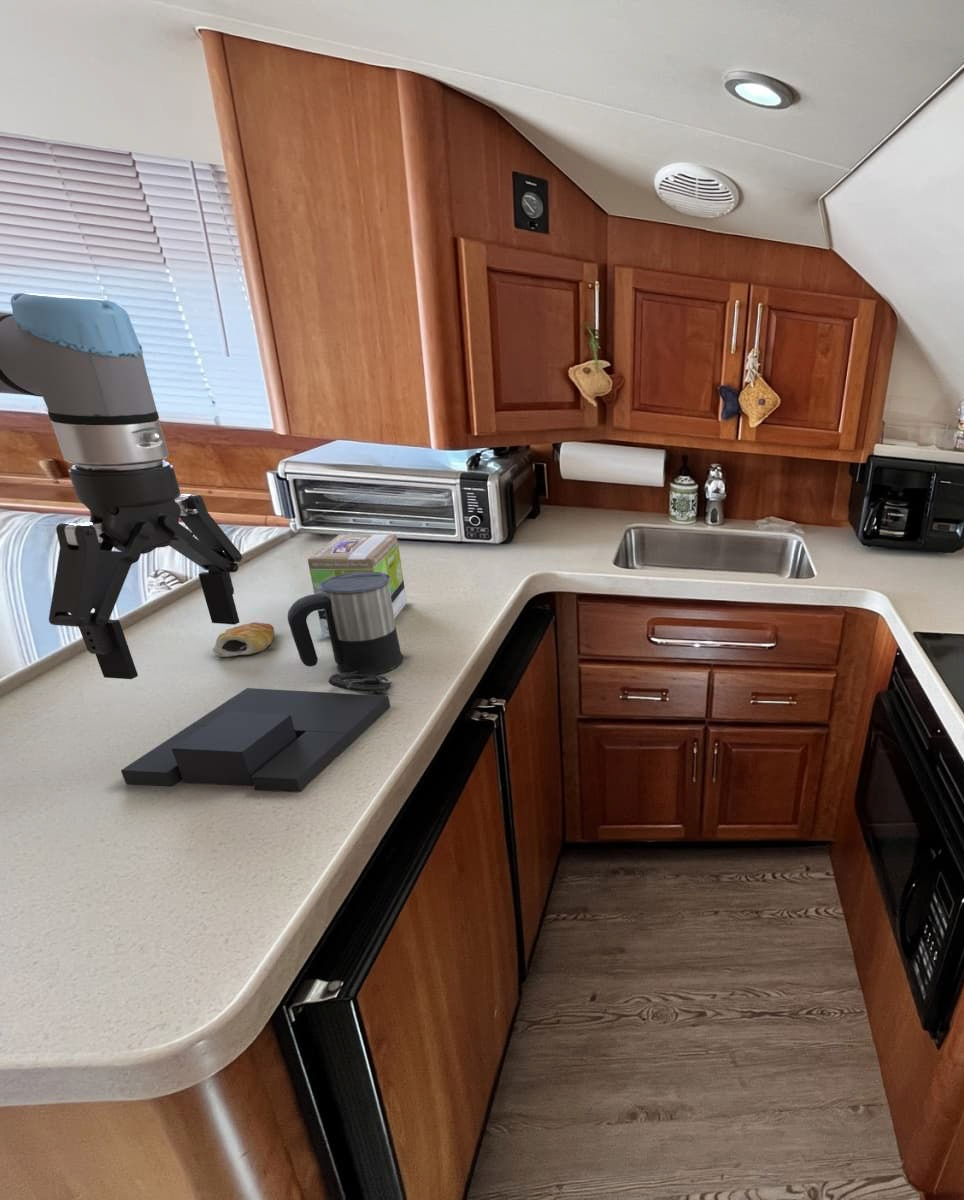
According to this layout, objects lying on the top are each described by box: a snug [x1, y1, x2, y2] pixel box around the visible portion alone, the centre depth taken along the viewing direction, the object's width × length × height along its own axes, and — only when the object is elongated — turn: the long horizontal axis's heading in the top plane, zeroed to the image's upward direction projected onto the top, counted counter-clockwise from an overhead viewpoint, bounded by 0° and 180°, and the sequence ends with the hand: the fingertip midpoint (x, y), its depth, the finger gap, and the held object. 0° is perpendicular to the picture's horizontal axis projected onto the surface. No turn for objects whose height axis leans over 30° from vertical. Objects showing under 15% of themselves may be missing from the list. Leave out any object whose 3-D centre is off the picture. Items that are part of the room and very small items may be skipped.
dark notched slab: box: [120, 687, 391, 793], centre depth 84 cm, size 20×19×2 cm
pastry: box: [212, 621, 275, 658], centre depth 106 cm, size 9×7×4 cm
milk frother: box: [287, 571, 405, 695], centre depth 98 cm, size 14×16×15 cm
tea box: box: [307, 533, 407, 637], centre depth 116 cm, size 15×10×15 cm, turn 17°
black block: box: [172, 711, 297, 787], centre depth 79 cm, size 8×8×5 cm
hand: (178, 647), depth 73 cm, fingers open, 13 cm apart
